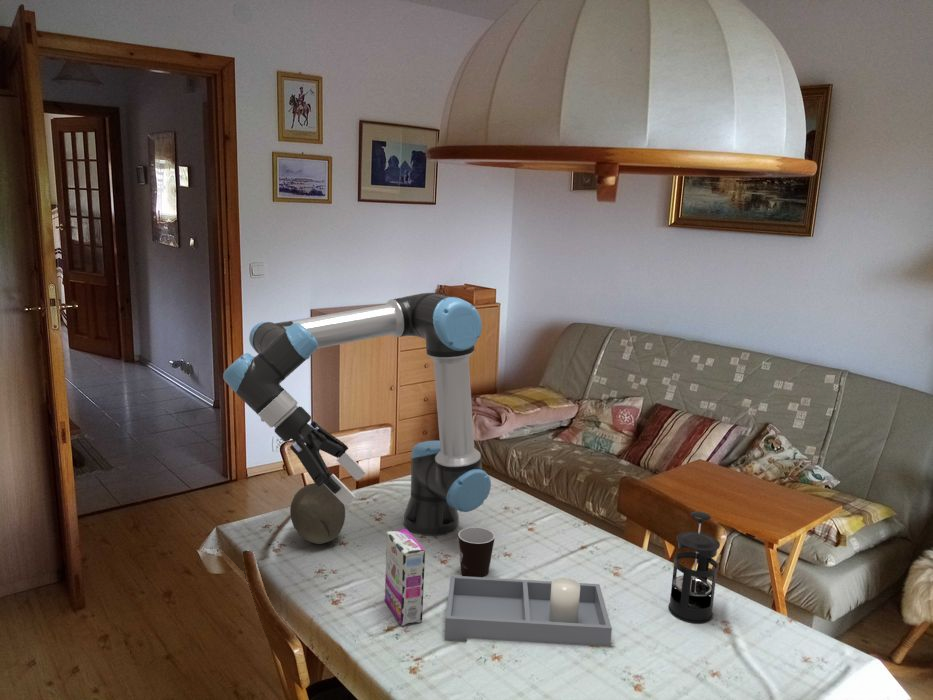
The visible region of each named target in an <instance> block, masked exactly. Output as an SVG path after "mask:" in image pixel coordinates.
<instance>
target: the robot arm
mask: <svg viewBox="0 0 933 700" xmlns="http://www.w3.org/2000/svg"><path fill="white" fill-rule="evenodd" d="M482 324H483V323H482V318H481V316H480V313H479V311H478V310H477V308H476V307H475V306H474V305H473V304H472V303H470V302H468V301H466V300H465V299H462V298H459V297H457V296H451V295H450V296H449V295H444V294H441V293H440V294H439V293H437V292H436V293H435V292H423V293H417V294H412V295H407V296H403V297H402V296H401V297H398V298H393V299H389V300H388V301H387V302H386V304H382V305H381V304H379V305H375V306H369V307H368V306H367V307H361V308H358V309H352V310H346V311H340V312H334V313H328V314H323V315H321V314H320V315H317V316H309V317H306V318H305V317H304V318H298V319H294V320H288V321H281V322H275V323H274V322H272V321H261V322H259V323H257V324H255V325H254V326H253V327H252V328H251V330H250V333H249V338H248V341H249V344H250V346H251V348H252V349H253V350H254V351H255V352H256V353H257V355H256V356H254V355H251V353H249V352H245V353H244V354H242V355H241V356H239V357H238V358H237V359H236V360H235V361H234V362H233V363H231V364H230V365H229V366H228V367H227V368H226V369H225V371H224V372H223V373H222V376H223V377H222V379H223V380H224V382H225V383H226V384H227V385H228V386H229V387H230V388H231V390H233V392H234V393H235V394H236V395H237V396H238V397H239V398H240V399H241V400H242V401H243V402H244V403H245V404H247V406H248V407H249V408H250V409H251V410H252V411H253V412H254V413H255V414H256V415H257V416H258V417H260V420H261V421H262V422H264V423H265V424H266V425H267V426H269V428H274V433H275V434H276V435H277V436H278V437H279V438H280V440H282V441H283V442H285V443H286V442H289V441H290V440H292V441H293V442H294V443H292V444H291V445H290V446H289V448H290V450H291V451H292V452H293V453H294V454H295V456H296V457H297V458H298V460H299V461H300V463H301V464H302V466H303V467H304V469H305V470H306V472H307V473H308V475H309V476H310V478H311V479H312V481H313V482H314V483H315V484H316V485H318V486H321V485H322V484H324V485H325V486H326V487H327V488H328V489H329V490H330V491H331V492H332V493H333V494H334V495H335V496H336V497H337V498H338V499H339V500H340V501H341V502H342V503H343V504H344V506H345V507H346V506H347V505H348V504H349V503H351V502H352V501H353V500H354V499H355V498H356V495H355V494H354V493H353V492H352V491H351V490H350V489H349V488H348V487H347V486H346V485H345V484H344V483H343V482H342V481H341V480H340V479H339V478H338V477H337V476H336V475H335V474H334V473H332V474H331V473H330V470H329V468H328V466H327V465H326V463H325V461H324V459H323V457H322V454H321V452H320V451H323V452H324V453H327V454H329V455H331V456H333V457H335V458H337V460H336V461H337V463H339V465H340V466H341V467H343V468H344V469H345V470H346V472H347V473H348V474H349V475H351V477H352V478H353V479H354V480H355V481H356V482H358V481H359V480H361V478H363V477H364V476H365V475H366V474H367V471H366V470H365V469H364V468H363V467H362V466H361V465H360V464H359V463H358V462H357V461H356V460H355V459H354V458H353V457H352V456H351V455H350V453H348V452H347V451H348V450H349V446H347V445H346V444H345V443H344V441H341V440H340V439H338V438H337V437H335V436H334V435H332V434H331V433H330V432H328V431H327V430H325V429H324V428H323V427H321V426H320V425H319V424H318V423H317V422H316V421H312V422H311V423H310V424H308V423H309V422H310V421H311V419H312V416H311V415H310V413H308V412H307V411H306V410H305V409H304V407H302V406H298V401H297V400H296V399H295V398H294V397H293V396H292V395H291V394H290V393H289V392H288V391H287V390H286V389H285V388H284V387H282V386H281V384H282V382H283V381H284V380H285V379H286V378H287V377H289V376H290V374H292V373H293V372H294V371H295V370H297V368H299V367H300V366H301V365H302V364H303V363H304V362H305V361H306V360H309V359H310V357H311V356H312V355H313V354H314V353H315V351H317V350H318V349H323V348H328V347H333V346H339V345H342V344H343V345H344V344H349V343H353V342H359V341H363V340H369V339H374V338H379V337H384V336H385V337H386V336H390V335H392V336H393V337H395V338H401V337H417V338H422V339H424V340H425V349H426V356H428V357H429V358H430V359H431V360H432V361H433V372H434V384H435V397H436V411H437V423H438V435H439V437H438V438H439V440H426V441H421V442H417V443H416V444H415V445H413V447H412V449H411V457H410V459H411V469H410V473H411V475H410V497H409V501H408V503H407V506H406V507H405V510H404V513H403V525H404V527H405V529H407V530H408V531H409V532H412V533H414V534H418V535H423V536H425V535H426V536H441V535H446V534H448V533H451V532H454V531H455V530H456V529H457V528H458V527H459V522H460V521H459V519H460V517H459V516H460V515H459V513H458V511H459V512H462V513H468V512H472V511H474V510H476V509H478V508H479V507H480V506H482V505H483V504H484V502H485V501H486V500H487V498H488V497H489V495H490V492H491V487H492V481H491V478H490V475H488V473H487V472H486V471H485V470H483V467H482V466H483V465H482V456H481V455H482V454H481V452H480V451H479V450H478V449H477V448H475V438H474V424H473V422H474V420H473V419H474V418H473V407H472V406H473V405H472V389H471V387H472V386H471V377H470V376H471V374H470V373H471V371H470V357H471V355H473V354H474V353H475V345H476V343H477V342H478V339H479V338H480V337H481V334H482V329H483V326H482Z"/></svg>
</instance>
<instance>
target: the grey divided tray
mask: <svg viewBox="0 0 933 700" xmlns="http://www.w3.org/2000/svg"><path fill="white" fill-rule="evenodd" d="M552 581H553V580H552ZM552 581H549V580H536V579H535V580H534V579H533V580H532V579H517V578H498V577H486V576H485V577H468V576H462V575H450V580H449V587H448V593H447V595H448V596H447V604H446V612H445V621H444V623H445V624H444V641H455V642H468V639H475V640H478V639H479V640H496V641H509V642H510V641H511V642H528V643H546V644H559V645H560V644H561V645H574V646H575V645H577V646H591V647H593V646H594V647H608V648H609V647H611V641H612V631H613V630H612V629H613V628H612V624H611V621H610V617H609V613H608V611H607V607H606V602H605V599H604V596H603V592H602V588H601V585H600V584H599V583H588V582H587V583H584V582H578V583H579V584H580V598H579V611H578V623H563V622H550V620H549V611H550V597H551V583H552Z"/></svg>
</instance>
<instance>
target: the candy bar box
mask: <svg viewBox="0 0 933 700" xmlns="http://www.w3.org/2000/svg"><path fill="white" fill-rule="evenodd" d="M385 549H386V551H385V555H386V556H385V584H384V589H385V590H384V602H385V603H386V605H387V606H388V608H389V609H390V611H391V612H392V613H393V615H394V617H395V619H396V620H397V621H398V624H399V625H400V627H405V626H410V625H416V624H420V623H423V608H424V607H423V606H424V587H425V586H424V582H425V561H426V560H425V559H426V556H425V555H426V549H425V548H424V547H423V546H422V545H421V544H420V542H419V541H418V540H417V539H416V538H415V537H414V536H413V535H412V533H411V531H410V530H408V529H407V528H404V529H403V528H402V529H397V530H390V531H386V548H385Z"/></svg>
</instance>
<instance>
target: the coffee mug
mask: <svg viewBox="0 0 933 700" xmlns="http://www.w3.org/2000/svg"><path fill="white" fill-rule="evenodd" d="M457 536H458V548H459V549H458V550H459V563H460V576H468V577H485V578H486V577H487V576H488V575H489V571H490V567H491V559H492V554H493V549H494V543H495V539H496V536H495V533H494V532H493V531H492V530H490V529H487V528H484V527H477V526H473V527H471V526H470V527H466V528H463V529H461V530H460V531H458V534H457Z"/></svg>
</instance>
